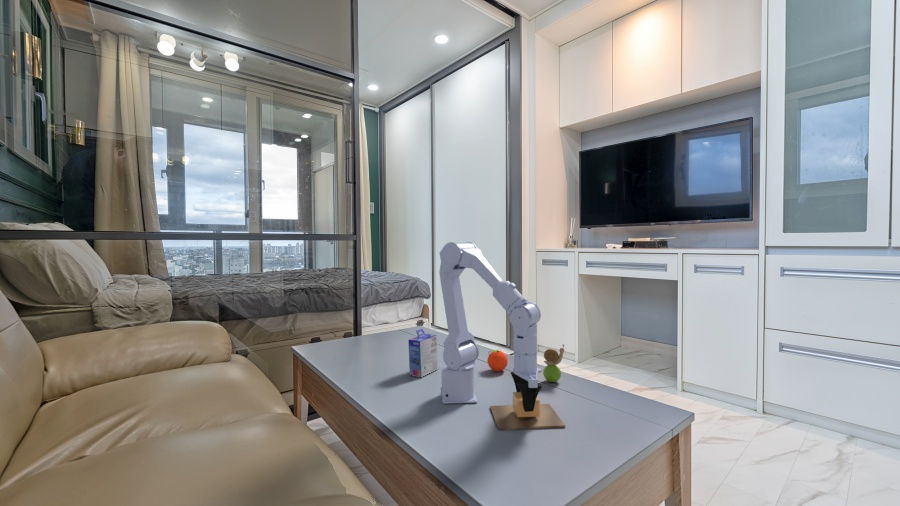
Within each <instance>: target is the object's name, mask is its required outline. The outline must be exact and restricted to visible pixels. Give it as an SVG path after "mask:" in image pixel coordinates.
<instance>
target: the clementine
mask: <svg viewBox="0 0 900 506" xmlns="http://www.w3.org/2000/svg"><path fill="white" fill-rule="evenodd" d="M487 355H488V357H487V365H488V368H490V369H491V370H492V371H495V372H502V371H504V370H505V369H506V368H507V367H508V366H507V365H508V362H509V361H508V357H507V355H506V353H504V351H502V350H498V349H493V350H491V351H490V352H488V353H487Z"/></svg>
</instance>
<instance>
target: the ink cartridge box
mask: <svg viewBox="0 0 900 506" xmlns="http://www.w3.org/2000/svg"><path fill="white" fill-rule="evenodd" d="M415 332H416V335H417V336H415V337H412V338H410V339H408V342H407V343H408V359H409V360H408V362H409V363H408V365H409V375H410V376H411V375H412V376H413V377H415V376H416V378H419V377H422V378H424V377H426V376H428V375H429V373H430V374H432V373H434V372H435V370H436V371H438V368H439V365H438V339H437V338H438V337H437V334H433V333H432V334H431V333H425V331H424V329H423V328H420V329H418V330H417V329H416V330H415ZM420 332H422V333H420ZM433 371H434V372H433ZM431 372H432V373H431ZM427 374H428V375H427ZM425 375H426V376H425ZM423 376H424V377H423Z"/></svg>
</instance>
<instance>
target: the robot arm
mask: <svg viewBox="0 0 900 506" xmlns="http://www.w3.org/2000/svg"><path fill="white" fill-rule="evenodd" d="M439 258H440V265H439V266H440V267H439V271H438V273H439V279H440V287H441V293H442V298H443V299H442V300H443V304H444V305H443V307H444V312H445V318H446V325H447V330H448V335H447V337H446V338H445V339H444V341H443V353H442V359H443V362H444V364H445V366H442V367H441V387H440V395H441V398H442V401H441V402H442V404H443V405H444V404H470V403H472V404H473V403H474V404H475V403H478V399H477V396H476V392H475V365H476V361H477V359H478V358H479V356H480V355H479V354H480V351H479V347H478V345H477V343H476V340H475V336H474V335H473V334H472V333H471V332H470V331H469V329H468V324H467V317H466V312H465V311H466V310H465V305H464V300H463V298H464V297H463V294H462V286H461V281H460V279H461V278H460V276H461V275H462V273H463V272H464V271H465V269H472V270H473V271H474V272H476V274H478V276H479V277H480V278H481V279H482V280H483V281H484V282H485V283H486V284H487V285H488V286H489V287H490V288H491V289H492V297H493V298H495V300H496V301H497V302H498V304H499V305H500V307H502V308H503V309H504V311H506V314H508V315H509V316H508V319H509V323H510V324H511V326H512V328H513V368H512V371H511V372H510V375H511V377H512V380H513V382H514V386H515V390H516V391H515V392H521V395H522V402H523V408H524V411H525V412H529V411H533V410H534V406H535V402H536V398H538V395H539V393H540V391H541V389H542V386H543V385H542V384H541V382H539V381H538V380H539V379H538V375H539V374H542V373H543V372H542V371H543V369H541V367H538V325H537V324H538V323H539V321H540V320H541V316H542V315H541V310H540V308H539V307H538V305H537V303H535V302H533V301H529V299H528V298H527V297H524V296H523V295H522V294H521V292H519V290H518V289H517V288H516V287H517V285H516V284H515V283H514V282H511V281H509V280H503V279H502V278H501V276H500V275H499V274H498V273H497V272H496V271H495V269H494V268H493V267H492V266H491V264H490V263H489V262H488V260H487V259H486V257H484V255H483V253H482V250H481V249H480V248H478V247H477V245H476V244H475V243H473V242H470V241H467V242H466V241H465V242H452V241H449V242H447V243H445V245H444V246H443V247H442V248H441V250H440V252H439Z"/></svg>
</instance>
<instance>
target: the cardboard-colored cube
mask: <svg viewBox="0 0 900 506" xmlns="http://www.w3.org/2000/svg"><path fill="white" fill-rule="evenodd" d="M539 404H540V399H539V398H538V397H537V398H536V402H535V406H534V410H533V411H529V412H525V411H524V408H523V402H522V395H521V392H516V391H513V392H512V405H513V409H514V411H515V413H516V415H517V417H539Z"/></svg>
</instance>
